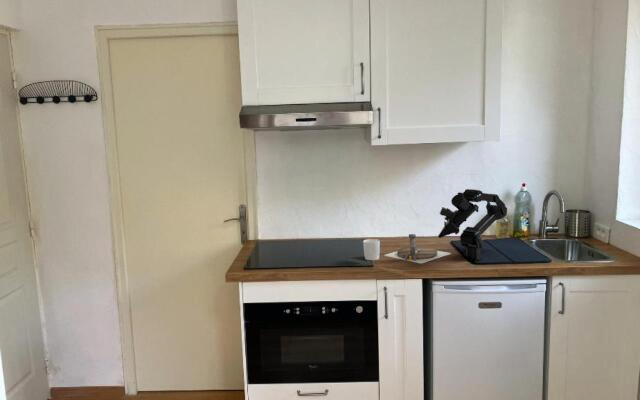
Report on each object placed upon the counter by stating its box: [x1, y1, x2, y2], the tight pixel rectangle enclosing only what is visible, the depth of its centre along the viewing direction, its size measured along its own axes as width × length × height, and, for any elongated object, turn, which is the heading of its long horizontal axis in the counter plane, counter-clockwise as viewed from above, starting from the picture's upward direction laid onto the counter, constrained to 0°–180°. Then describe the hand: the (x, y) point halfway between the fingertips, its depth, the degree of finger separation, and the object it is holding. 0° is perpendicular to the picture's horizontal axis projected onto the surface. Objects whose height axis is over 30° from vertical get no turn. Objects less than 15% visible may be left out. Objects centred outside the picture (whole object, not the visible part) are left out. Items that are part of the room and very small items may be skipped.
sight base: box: [383, 250, 452, 265], centre depth 243 cm, size 23×23×4 cm
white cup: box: [362, 238, 381, 261], centre depth 240 cm, size 8×8×10 cm
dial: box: [397, 233, 438, 259], centre depth 243 cm, size 19×19×11 cm
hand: (438, 237), depth 233 cm, fingers closed
